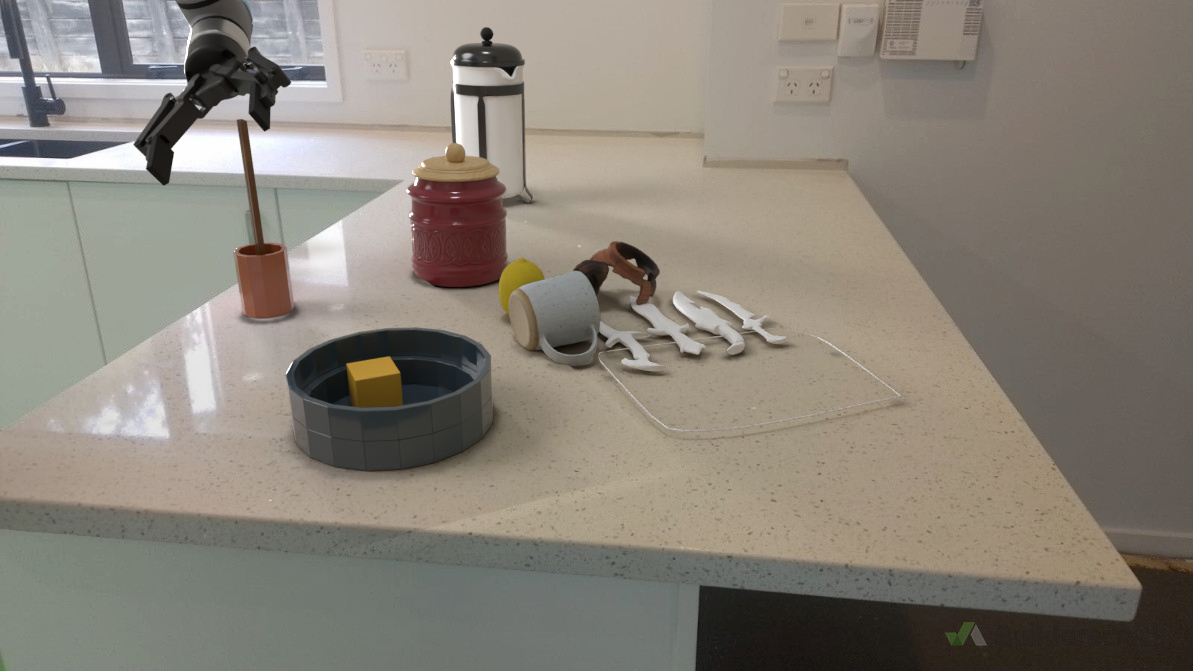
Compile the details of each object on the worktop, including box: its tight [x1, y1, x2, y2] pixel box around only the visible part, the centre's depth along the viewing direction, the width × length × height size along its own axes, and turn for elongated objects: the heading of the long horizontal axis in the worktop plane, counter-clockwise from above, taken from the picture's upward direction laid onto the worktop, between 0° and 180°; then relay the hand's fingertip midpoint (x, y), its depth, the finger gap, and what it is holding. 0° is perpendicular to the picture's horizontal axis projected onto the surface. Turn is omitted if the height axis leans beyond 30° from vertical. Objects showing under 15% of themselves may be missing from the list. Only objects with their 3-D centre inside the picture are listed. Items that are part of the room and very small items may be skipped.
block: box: [346, 357, 403, 408], centre depth 76 cm, size 4×4×4 cm
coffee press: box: [449, 26, 534, 204], centre depth 149 cm, size 17×16×30 cm
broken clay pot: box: [572, 240, 661, 305], centre depth 104 cm, size 12×10×8 cm
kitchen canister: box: [406, 142, 509, 288], centre depth 112 cm, size 13×13×18 cm
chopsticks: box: [236, 118, 266, 255], centre depth 95 cm, size 1×2×22 cm, turn 36°
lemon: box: [497, 257, 546, 316], centre depth 97 cm, size 6×6×8 cm
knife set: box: [597, 290, 902, 433], centre depth 91 cm, size 26×35×1 cm
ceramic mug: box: [508, 270, 601, 367], centre depth 90 cm, size 11×8×8 cm
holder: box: [232, 242, 295, 319], centre depth 98 cm, size 6×6×8 cm
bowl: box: [285, 326, 494, 472], centre depth 74 cm, size 17×17×6 cm
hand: (208, 149), depth 95 cm, fingers open, 13 cm apart
